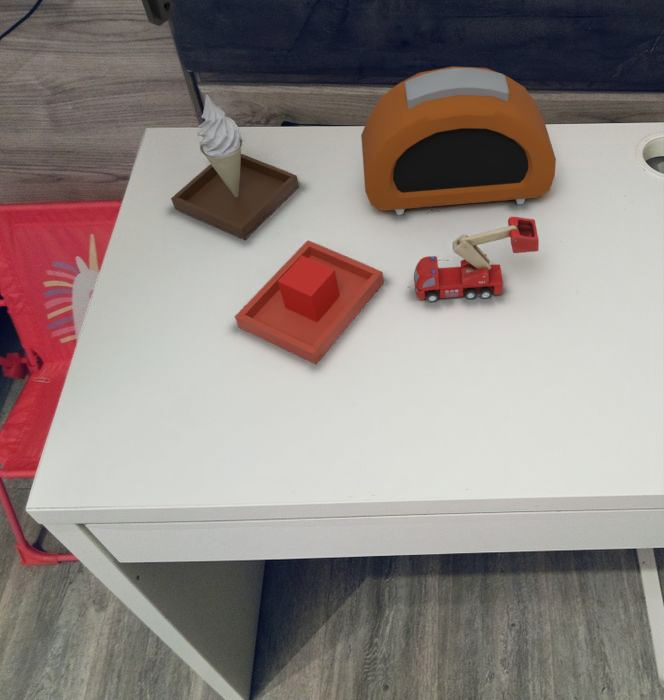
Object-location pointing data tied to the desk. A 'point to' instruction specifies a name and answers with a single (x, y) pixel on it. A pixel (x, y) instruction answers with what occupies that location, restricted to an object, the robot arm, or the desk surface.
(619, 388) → the desk surface
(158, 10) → the robot arm
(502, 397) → the desk surface
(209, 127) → the ice cream cone
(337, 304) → the red tray
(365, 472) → the desk surface
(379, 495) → the desk surface
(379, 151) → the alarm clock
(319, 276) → the red block
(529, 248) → the toy fire truck
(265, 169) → the brown tray
